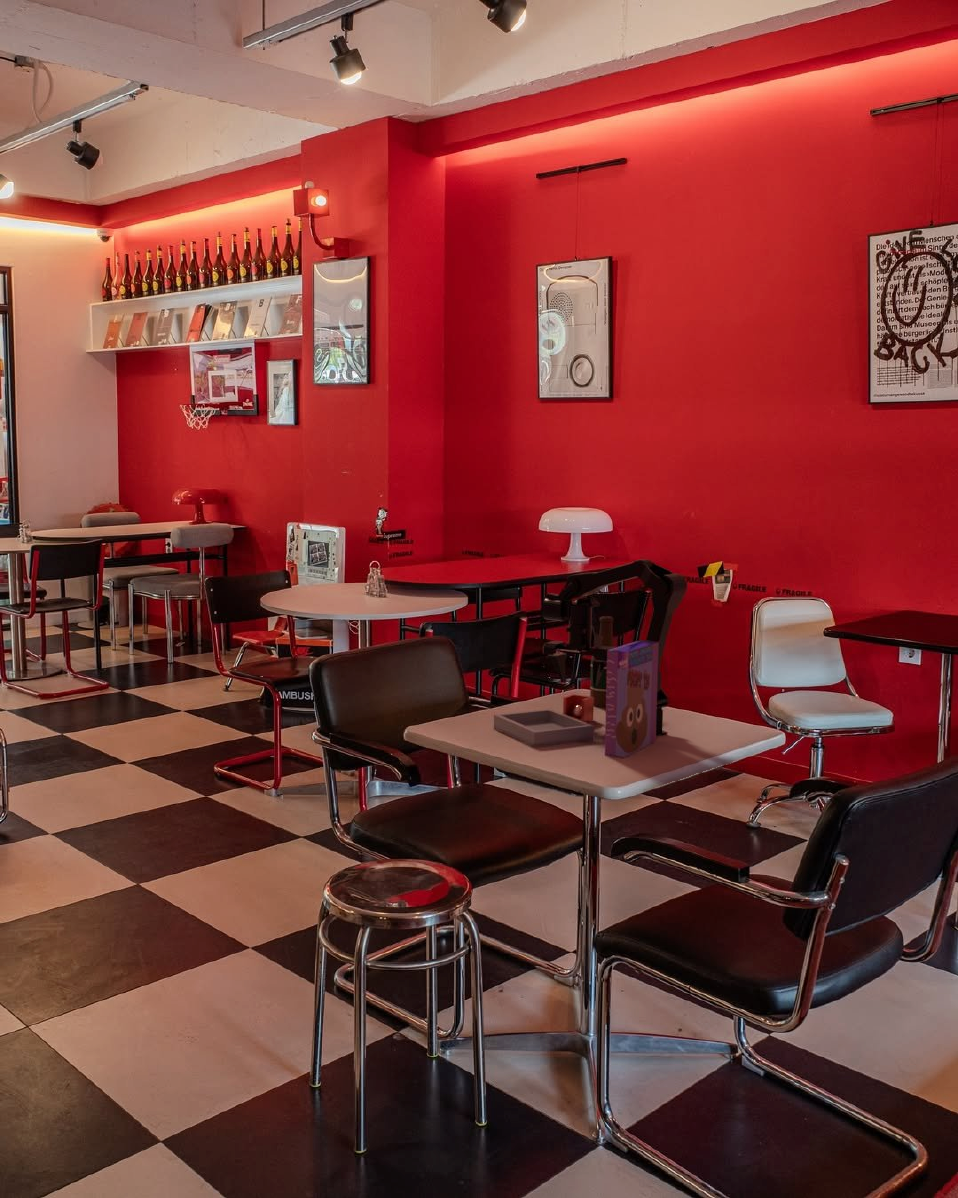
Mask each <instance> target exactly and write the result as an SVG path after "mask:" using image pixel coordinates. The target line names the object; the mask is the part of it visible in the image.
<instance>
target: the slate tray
mask: <svg viewBox="0 0 958 1198" xmlns="http://www.w3.org/2000/svg"><path fill="white" fill-rule="evenodd" d="M594 728H595V727H594V725H593V724H590V723H589V722H588V723H585V722H583V721H580V720H578V719H575V718H573V717H570V716H568V715H565V714H563V712H560V711H557V710H554V709H553V708H547V709H537V710H536V709H535V710H527V711H517V712H515V711H514V712H507V713H499V714H498V713H496V714H493V729H494V730H496V731H498V732H501V733H502V734H505V736H506V735H507V736H509V737H511V738H513V739H515V740H517V741H519V742H522V743H524V744H526V745H529V746H530V747H532V748H541V747H549V746H556V745H565V744H572V743H580V742H583V743H584V742H590V741H594V733H595V732H594Z"/></svg>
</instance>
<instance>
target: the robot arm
mask: <svg viewBox="0 0 958 1198" xmlns="http://www.w3.org/2000/svg"><path fill="white" fill-rule="evenodd" d="M635 578H639V579H640V581H641V582H642V583H643V585H644V586H646V587H647V588H648V589H650V590H651V594H650V599H651V603H652V608H653V610H652V614H651V618H650V622H649V625H648V630H647V634H646V637H645V640H650V641H655V642H659V646H658V681H657V715H656V737H657V736H664V735H665V736H666V735H668V733H669V732H668V731H665V730H663V726H664V725H663V723H664V722H663V721H664V719H663V718H664V710H663V708H666V707H668V705H669V702H670V698H669V697H668V695H667V694H666V693H665V692H664V690H663V689H662V687H661V686H662V676H661V671H660V665H661V661H662V658H663V654H664V651H665V647H666V642H667V640H668V639H667V638H668V634H669V631H670V627H671V623H672V619H673V615H674V612H675V611H676V610H677V608H678V607H679V605H680V604H681V602H683V599H684V597H685V595H686V593H687V590H688V582H687V581H686V579H685V577H684V576H683V575H681V574H680V573H674V572H672V571H671V570H670V569H667V568H665V567H664V566H661V565H658V564H657V563H655V562H654V561H652V560H651V559H649V558H644V559H643V558H642V559H641V558H640V559H635V560H634V561H633V562H629V563H626V564H623V565H618V566H615V567H611V568H608V569H604V570H601V571H595V572H594V571H593V572H592V571H591V572H582V573H574V574H571V575H568V577H567V579H566V581H565V585H564V586H563V588H562V589H561V590H560V593H559V594H558V593H555V592H554V593H553V592H551V593H549V592H548V593H546V597H545V599H544V600H543V602H542V606H541V607H540V612H541V616H542V618H543V619H544V620H549V621H550V620H551V621H557V622H566V621H568V627H566V631H565V632H566V633H568V642H566V641H560V640H551V641H548V642H545V643H543V646H542V654H544V655H547V656H546V658H547V659H549V660H550V661H551V664H553V666H554V668H555V670H556V673H557V675H558V678H559V680H560V682H561V683H562V684H563V683H565V682H566V660H567V656H568V654H573V655H584V656H591V657H592V656H593V657H594V658H595V659H596V660H594V661H593V684H594V687H596V686H597V685H598V682H599V680H600V677H601V674H602V672H603V670H604V668H605V666H606V664H607V650H610V649H613V648H617V646H614V647H609V646H601V644H602V638H603V637H602V636H601V635H599V634H598V633H597V632H595V626H593V623H592V622H593V608H594V607H600V606H601V603H600V602H599V601H598V600H597V599H596V598H595V596H592V595H593V594H595V593H598V592H599V591H601V590H602V589H604V588H606V587H607V586H611V585H615V584H617V583H621V582H624V581H628V580H631V579H635ZM587 596H588V597H587ZM583 597H587V598H583ZM574 600H575V601H574Z"/></svg>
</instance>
